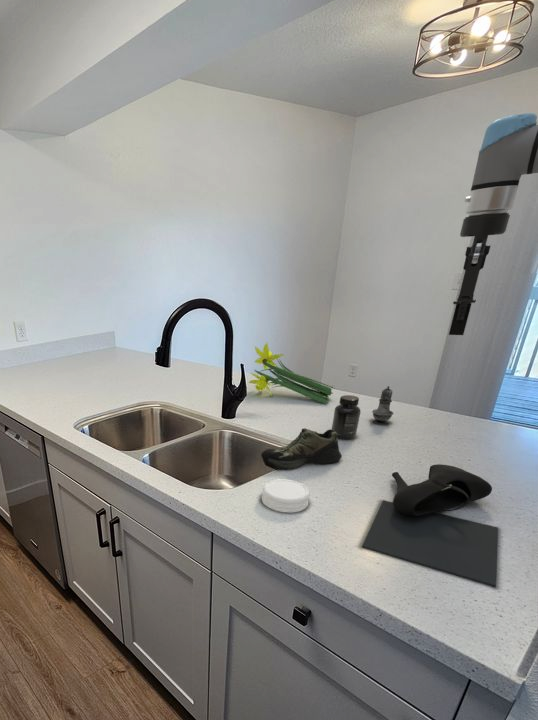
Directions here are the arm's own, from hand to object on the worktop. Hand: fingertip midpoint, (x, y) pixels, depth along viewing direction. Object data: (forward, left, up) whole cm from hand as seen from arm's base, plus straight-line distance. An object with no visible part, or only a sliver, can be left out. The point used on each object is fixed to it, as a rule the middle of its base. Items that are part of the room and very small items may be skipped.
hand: (456, 334), depth 98 cm
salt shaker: (+14, -25, -32) cm, 43 cm away
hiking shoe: (+26, +16, -32) cm, 44 cm away
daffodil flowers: (+49, -40, -32) cm, 71 cm away
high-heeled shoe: (-3, +14, -29) cm, 32 cm away
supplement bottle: (+21, -8, -32) cm, 39 cm away
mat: (-6, +37, -32) cm, 49 cm away
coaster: (+22, +38, -32) cm, 55 cm away
